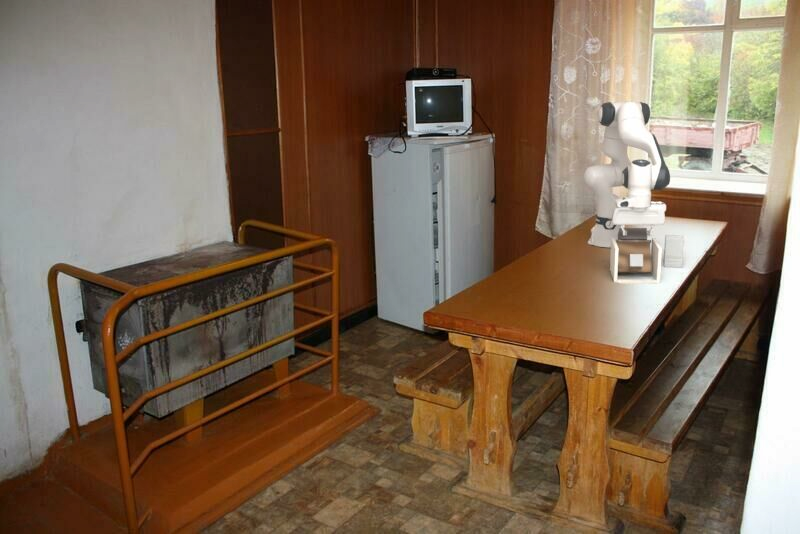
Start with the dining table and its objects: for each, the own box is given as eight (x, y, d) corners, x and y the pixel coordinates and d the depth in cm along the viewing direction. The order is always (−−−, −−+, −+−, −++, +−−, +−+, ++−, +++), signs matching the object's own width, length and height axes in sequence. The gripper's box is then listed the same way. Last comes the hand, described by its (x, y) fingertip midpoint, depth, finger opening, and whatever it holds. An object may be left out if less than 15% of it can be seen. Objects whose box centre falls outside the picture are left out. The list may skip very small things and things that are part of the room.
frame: (609, 268, 300) (610, 237, 296) (652, 269, 296) (654, 237, 292) (614, 283, 281) (615, 249, 277) (660, 283, 277) (662, 249, 273)
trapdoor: (614, 235, 301) (615, 227, 295) (648, 235, 298) (650, 227, 292) (615, 277, 293) (617, 271, 287) (650, 278, 290) (653, 271, 284)
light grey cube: (628, 256, 287) (630, 254, 283) (641, 256, 286) (642, 254, 282) (628, 268, 286) (630, 266, 282) (641, 268, 285) (643, 266, 281)
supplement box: (681, 263, 303) (683, 235, 300) (682, 268, 296) (684, 239, 293) (663, 262, 305) (665, 234, 302) (663, 267, 299) (665, 238, 295)
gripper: (665, 199, 278) (663, 233, 282) (611, 200, 282) (610, 233, 286) (667, 202, 272) (665, 237, 276) (613, 203, 276) (611, 237, 280)
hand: (637, 235), depth 281 cm, fingers open, 8 cm apart
